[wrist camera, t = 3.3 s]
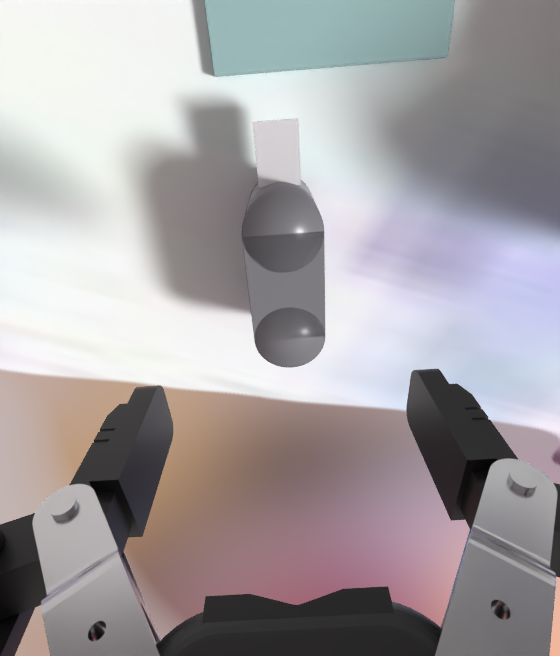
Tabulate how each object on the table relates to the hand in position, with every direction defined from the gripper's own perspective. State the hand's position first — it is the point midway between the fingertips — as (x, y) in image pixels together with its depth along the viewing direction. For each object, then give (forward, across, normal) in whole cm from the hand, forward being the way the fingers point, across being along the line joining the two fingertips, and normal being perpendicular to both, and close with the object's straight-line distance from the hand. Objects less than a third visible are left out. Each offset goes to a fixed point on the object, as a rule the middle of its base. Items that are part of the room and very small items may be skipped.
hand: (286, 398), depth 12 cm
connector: (+15, 0, -1) cm, 15 cm away
